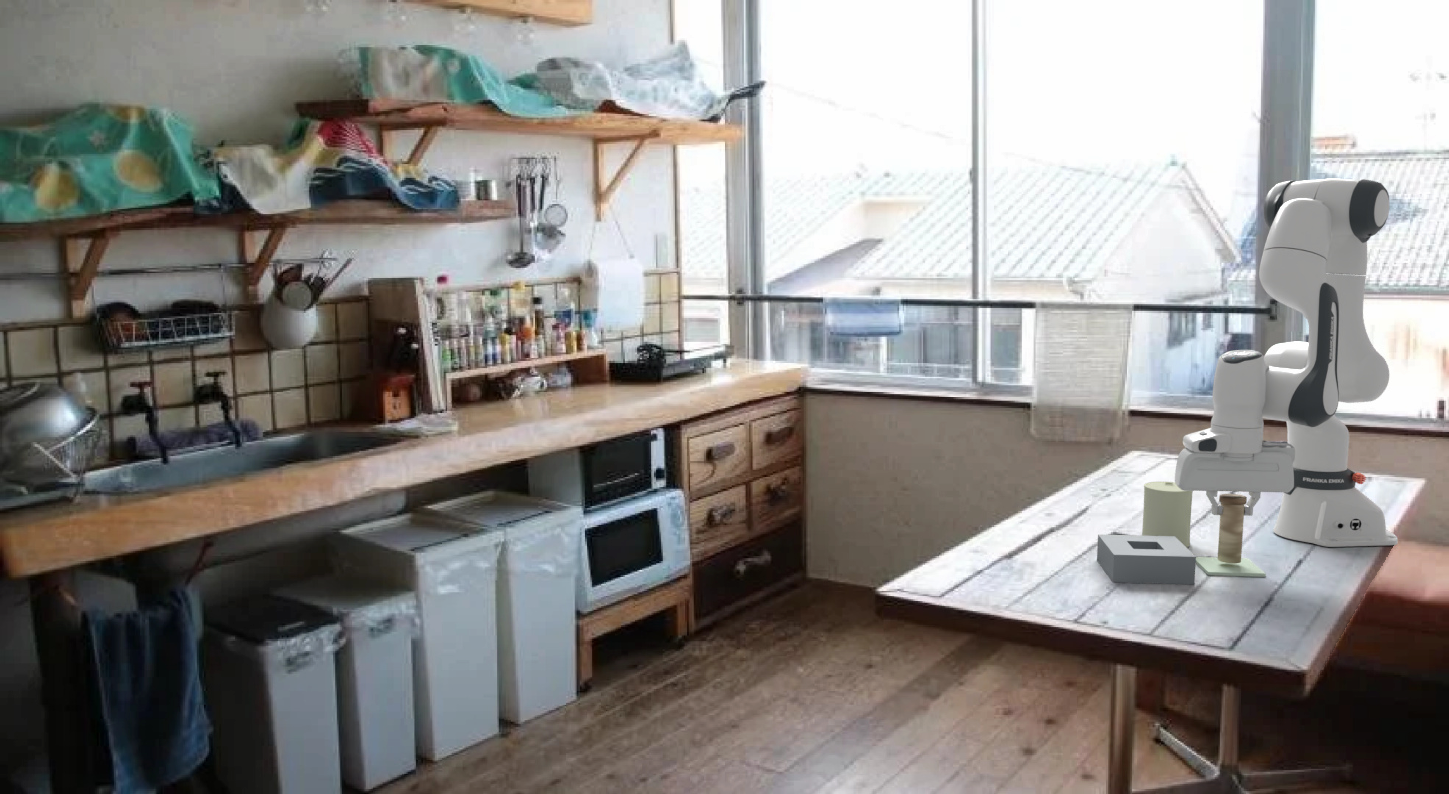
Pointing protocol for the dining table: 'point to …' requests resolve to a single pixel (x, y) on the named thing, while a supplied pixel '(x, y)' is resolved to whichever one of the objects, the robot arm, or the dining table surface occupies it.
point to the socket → (1146, 559)
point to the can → (1167, 511)
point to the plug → (1231, 528)
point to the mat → (1229, 567)
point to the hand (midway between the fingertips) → (1231, 514)
